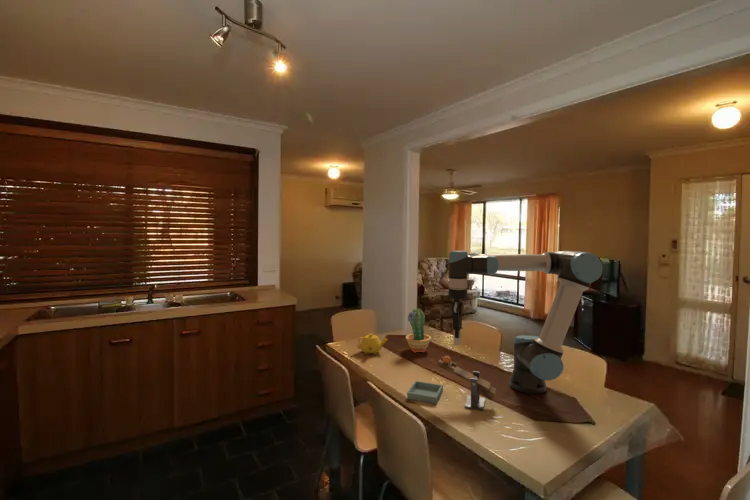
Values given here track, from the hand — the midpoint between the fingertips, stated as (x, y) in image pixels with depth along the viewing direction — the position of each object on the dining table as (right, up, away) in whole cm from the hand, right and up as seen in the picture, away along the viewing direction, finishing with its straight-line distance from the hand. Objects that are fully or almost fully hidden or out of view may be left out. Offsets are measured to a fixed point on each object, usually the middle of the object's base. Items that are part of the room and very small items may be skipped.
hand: (457, 344), depth 144 cm
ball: (-4, -7, +2) cm, 8 cm away
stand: (+7, -24, -2) cm, 25 cm away
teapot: (-36, -22, +60) cm, 73 cm away
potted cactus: (-8, -21, +64) cm, 68 cm away
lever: (+3, -16, 0) cm, 16 cm away
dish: (-12, -24, +7) cm, 27 cm away
